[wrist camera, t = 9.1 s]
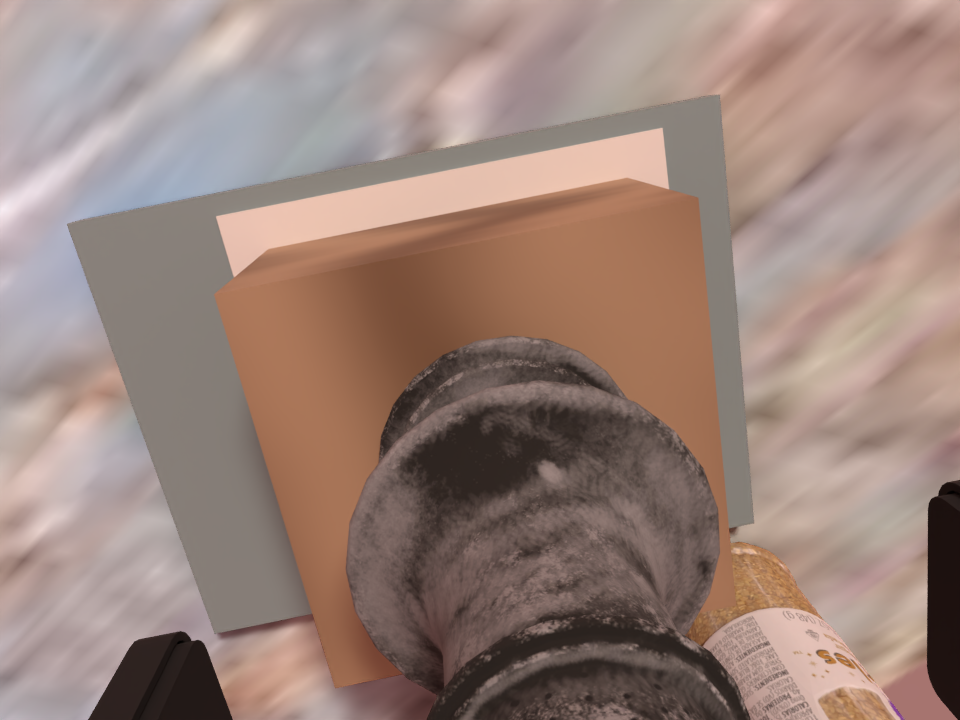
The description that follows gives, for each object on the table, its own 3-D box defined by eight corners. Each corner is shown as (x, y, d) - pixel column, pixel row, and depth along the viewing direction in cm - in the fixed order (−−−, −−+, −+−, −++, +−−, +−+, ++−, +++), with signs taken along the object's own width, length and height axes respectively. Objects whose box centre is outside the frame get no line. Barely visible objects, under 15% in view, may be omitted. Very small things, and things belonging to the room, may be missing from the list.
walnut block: (627, 177, 18) (698, 197, 14) (666, 496, 21) (736, 605, 16) (268, 248, 18) (213, 293, 14) (354, 560, 21) (335, 687, 16)
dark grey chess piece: (558, 628, 16) (875, 1806, 5) (311, 518, 15) (-32, 1751, 4) (710, 405, 15) (1633, 1318, 4) (453, 265, 14) (602, 968, 2)
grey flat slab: (707, 95, 19) (721, 94, 18) (743, 509, 23) (755, 524, 22) (80, 219, 19) (64, 224, 18) (222, 616, 22) (213, 636, 22)
